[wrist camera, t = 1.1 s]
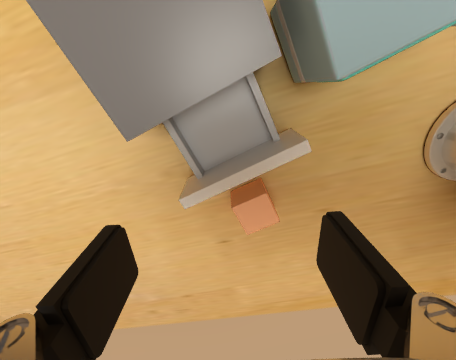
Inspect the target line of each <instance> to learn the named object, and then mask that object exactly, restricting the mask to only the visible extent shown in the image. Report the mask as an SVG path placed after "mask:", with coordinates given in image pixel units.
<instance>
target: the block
mask: <svg viewBox="0 0 456 360" xmlns="http://www.w3.org/2000/svg"><path fill="white" fill-rule="evenodd" d="M231 206H232V210H233V211H234V213H235V215H236V216H237V218H238V220H239V222H240V223H241V225H242V227H243V228H244V230H245V232H246V234H247V235H248V234H251V233H253V232H256V231H258V230H261V229H263V228H266V227H268V226H271V225H273V224H276V223H278V222H280V220H279V217H278V215H277V212H276V210H275V207H274V205H273V202H272V200H271V198H270V196H269V194H268V192H267V190H266V188H265V186H264V184H263V182H262V180H261V178H259V179H257V180H255V181H252V182H250V183H248V184H246V185H244V186H241V187H239V188H237V189H235V190H232V191H231Z"/></svg>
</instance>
